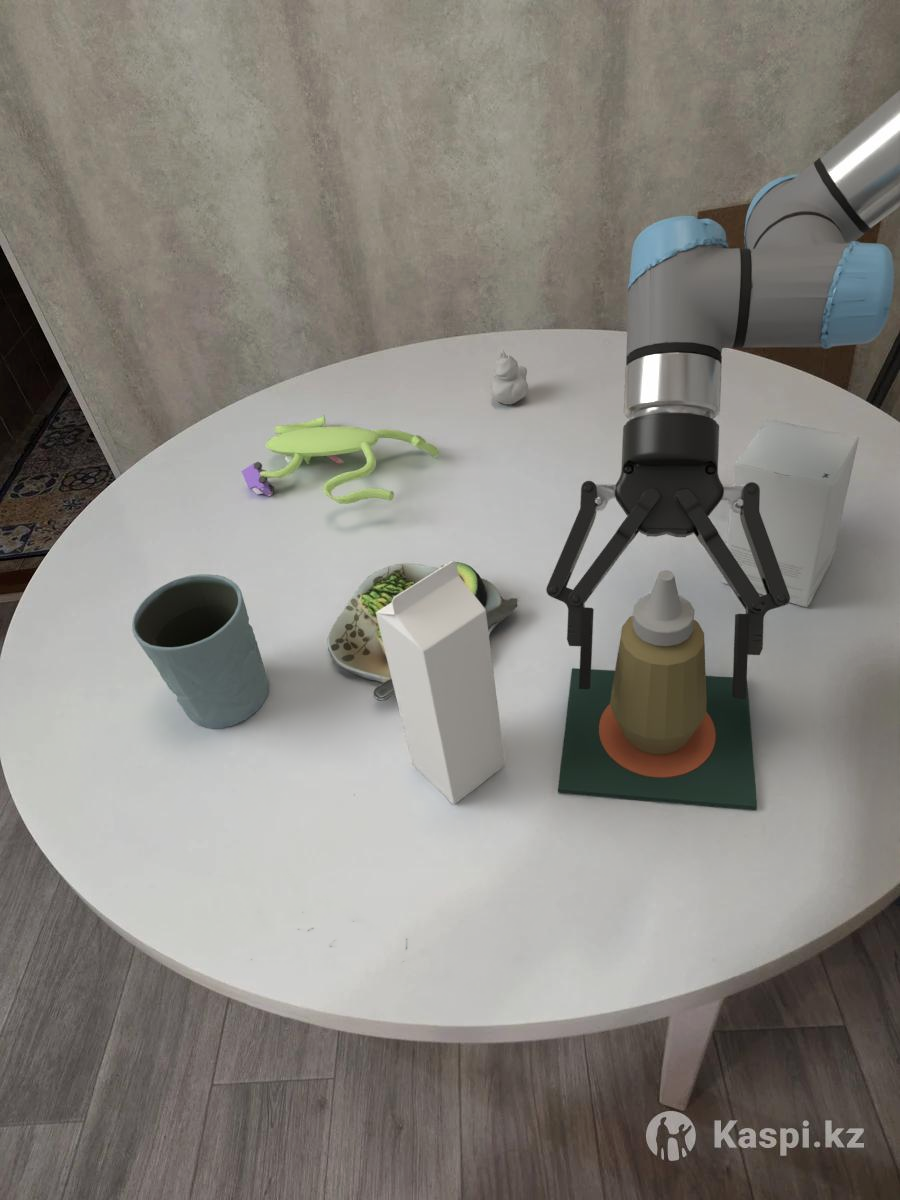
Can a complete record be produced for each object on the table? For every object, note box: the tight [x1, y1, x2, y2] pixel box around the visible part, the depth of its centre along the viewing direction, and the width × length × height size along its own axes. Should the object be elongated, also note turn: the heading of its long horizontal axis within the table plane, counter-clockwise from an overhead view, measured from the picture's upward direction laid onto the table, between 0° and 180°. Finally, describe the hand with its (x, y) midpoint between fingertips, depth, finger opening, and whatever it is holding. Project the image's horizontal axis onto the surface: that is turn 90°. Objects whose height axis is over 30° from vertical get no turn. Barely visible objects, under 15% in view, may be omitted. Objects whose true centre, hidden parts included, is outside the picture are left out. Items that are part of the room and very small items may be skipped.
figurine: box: [240, 414, 440, 505], centre depth 112 cm, size 18×27×6 cm
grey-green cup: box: [131, 573, 270, 730], centre depth 82 cm, size 10×10×12 cm
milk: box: [376, 560, 506, 805], centre depth 69 cm, size 6×6×22 cm
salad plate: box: [326, 561, 519, 702], centre depth 87 cm, size 19×18×5 cm
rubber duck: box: [490, 349, 529, 405], centre depth 121 cm, size 5×7×8 cm
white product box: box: [722, 418, 860, 608], centre depth 85 cm, size 9×9×15 cm
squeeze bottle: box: [610, 569, 707, 755], centre depth 70 cm, size 8×8×18 cm
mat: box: [557, 667, 758, 811], centre depth 76 cm, size 16×14×1 cm
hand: (660, 693), depth 69 cm, fingers open, 11 cm apart
